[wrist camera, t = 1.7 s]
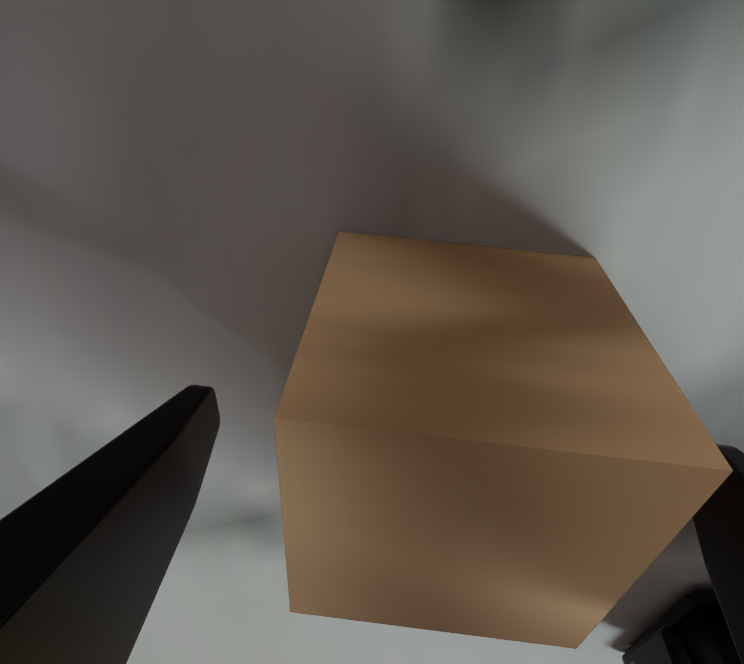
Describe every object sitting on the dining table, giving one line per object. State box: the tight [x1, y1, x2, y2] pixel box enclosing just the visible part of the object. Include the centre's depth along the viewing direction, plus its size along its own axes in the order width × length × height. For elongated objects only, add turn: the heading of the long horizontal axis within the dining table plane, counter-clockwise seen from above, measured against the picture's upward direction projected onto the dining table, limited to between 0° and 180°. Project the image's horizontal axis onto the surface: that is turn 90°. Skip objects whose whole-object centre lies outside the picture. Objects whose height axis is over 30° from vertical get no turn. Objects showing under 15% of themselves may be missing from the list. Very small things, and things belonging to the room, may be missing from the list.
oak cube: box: [274, 231, 733, 649], centre depth 9 cm, size 5×5×5 cm
